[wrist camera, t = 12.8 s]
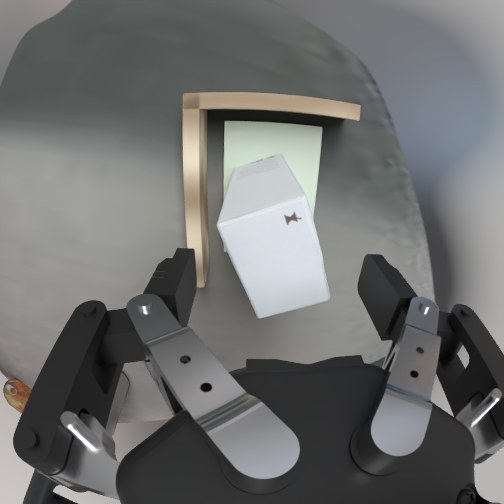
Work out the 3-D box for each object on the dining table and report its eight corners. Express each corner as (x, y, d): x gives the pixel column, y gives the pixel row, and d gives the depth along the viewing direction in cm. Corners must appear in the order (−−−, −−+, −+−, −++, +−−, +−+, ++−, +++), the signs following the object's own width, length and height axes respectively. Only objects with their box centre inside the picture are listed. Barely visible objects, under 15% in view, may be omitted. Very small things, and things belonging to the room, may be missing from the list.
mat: (306, 252, 26) (307, 254, 26) (224, 249, 26) (223, 251, 26) (321, 127, 21) (322, 127, 20) (225, 120, 21) (224, 120, 20)
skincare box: (232, 167, 22) (212, 221, 12) (281, 152, 22) (308, 191, 11) (255, 230, 25) (256, 322, 14) (300, 216, 24) (334, 301, 14)
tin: (53, 405, 50) (43, 428, 42) (51, 407, 51) (42, 429, 43) (11, 372, 45) (-2, 394, 37) (10, 375, 46) (-1, 396, 38)
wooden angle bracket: (323, 270, 27) (331, 291, 24) (197, 266, 27) (191, 286, 24) (345, 105, 20) (360, 105, 17) (193, 96, 20) (183, 93, 16)
